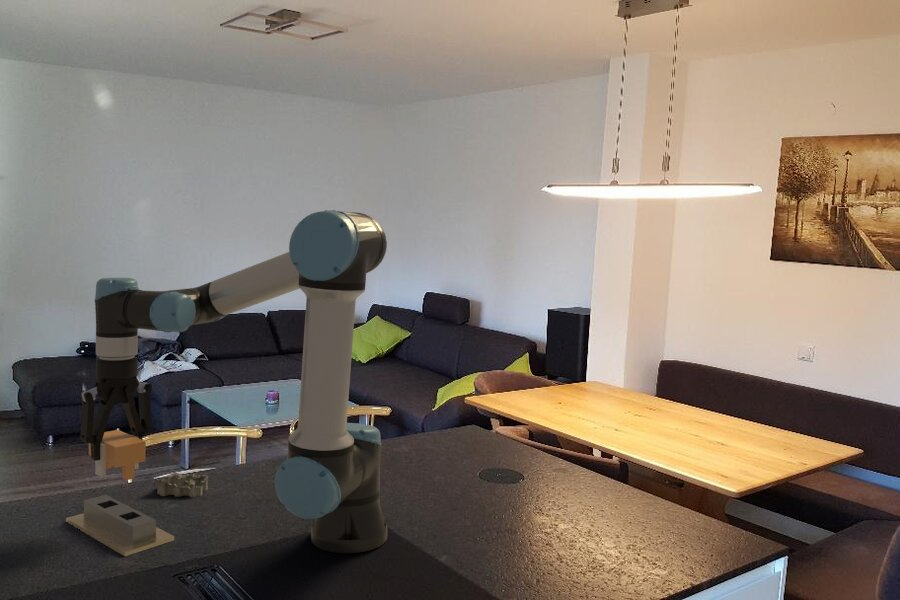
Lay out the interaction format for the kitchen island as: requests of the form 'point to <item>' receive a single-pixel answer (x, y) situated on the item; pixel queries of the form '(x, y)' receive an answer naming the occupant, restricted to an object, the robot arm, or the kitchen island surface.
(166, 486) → the egg carton
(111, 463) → the orange toy brick
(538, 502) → the kitchen island surface
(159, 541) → the beige grey stepped block
